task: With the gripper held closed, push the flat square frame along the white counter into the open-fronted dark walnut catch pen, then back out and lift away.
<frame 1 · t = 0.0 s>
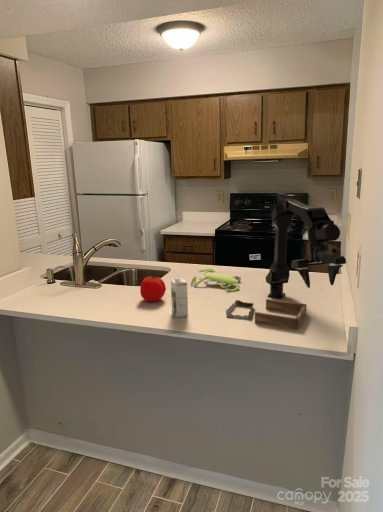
hand: (320, 286, 135), 15 cm above the counter, tool pointing down, fingers open, 9 cm apart
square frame: (241, 313, 155), on the counter
syrup box: (180, 314, 154), on the counter
catch pen: (281, 318, 148), on the counter
figurine: (216, 284, 191), on the counter
tomato: (153, 300, 171), on the counter
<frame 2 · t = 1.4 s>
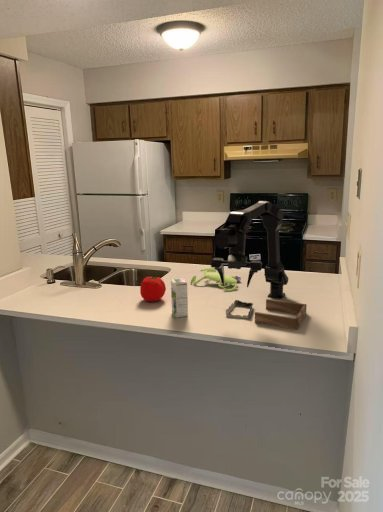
hand: (235, 286, 145), 13 cm above the counter, tool pointing down, fingers open, 9 cm apart
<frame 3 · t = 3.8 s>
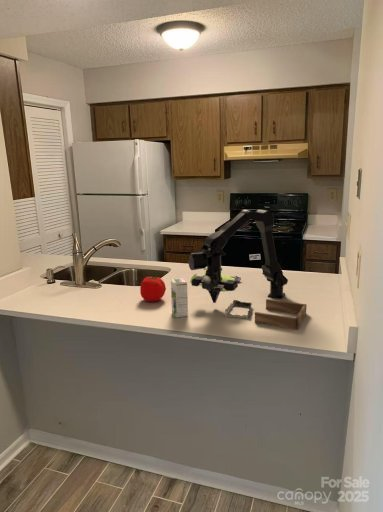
hand: (214, 302, 159), 2 cm above the counter, tool pointing down, fingers closed
figurine: (215, 283, 194), on the counter
everything else where it was.
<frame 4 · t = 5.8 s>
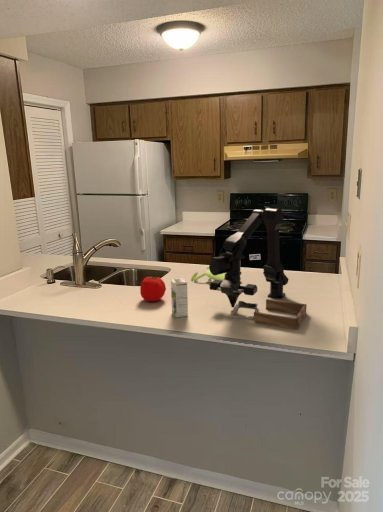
hand: (233, 307, 156), 2 cm above the counter, tool pointing down, fingers closed
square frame: (245, 314, 154), on the counter, touching gripper
figurine: (216, 282, 195), on the counter
everything else where it was.
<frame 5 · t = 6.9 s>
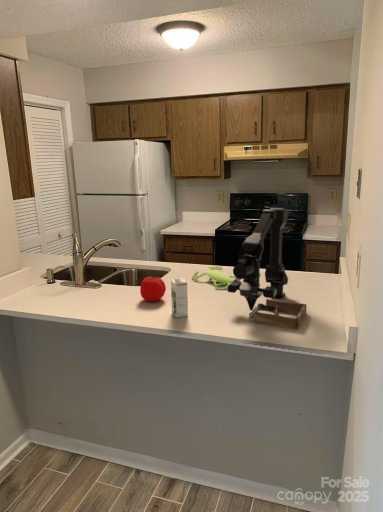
hand: (251, 309, 152), 2 cm above the counter, tool pointing down, fingers closed
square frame: (264, 317, 151), on the counter, touching gripper
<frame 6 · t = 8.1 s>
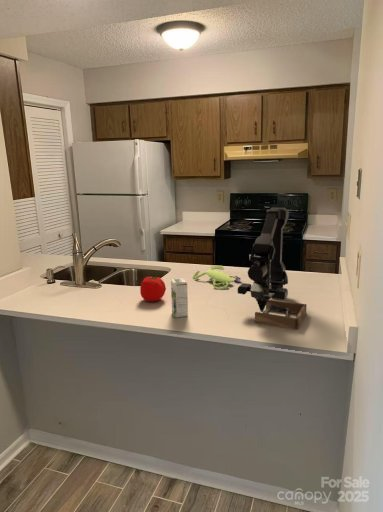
hand: (262, 311, 151), 2 cm above the counter, tool pointing down, fingers closed
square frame: (275, 318, 149), on the counter
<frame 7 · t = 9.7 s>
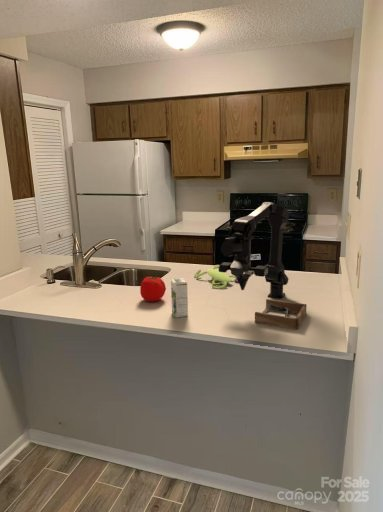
hand: (242, 289, 152), 10 cm above the counter, tool pointing down, fingers closed
figurine: (217, 280, 197), on the counter
everything else where it was.
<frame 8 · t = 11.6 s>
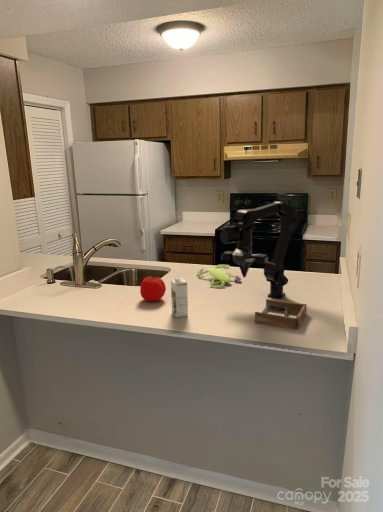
hand: (244, 277, 160), 12 cm above the counter, tool pointing down, fingers closed
figurine: (218, 280, 199), on the counter
everything else where it was.
at the end: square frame inside the target area (4.0 cm from its centre), on the counter; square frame moved 13.5 cm from its start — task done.
